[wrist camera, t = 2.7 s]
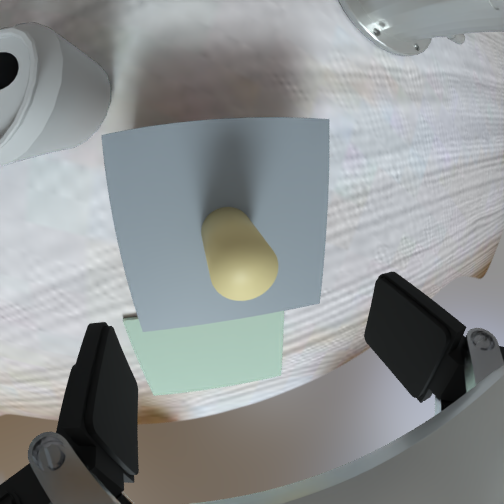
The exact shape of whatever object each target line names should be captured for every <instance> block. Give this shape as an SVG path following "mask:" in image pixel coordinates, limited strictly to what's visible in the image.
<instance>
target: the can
mask: <svg viewBox="0 0 504 504" xmlns="http://www.w3.org/2000/svg"><path fill="white" fill-rule="evenodd" d="M110 102H111V86H110V82H109V79H108V76H107V74H106V72H105V71H104V70H103V69H102V68H101V66H100V65H99V64H98V63H96V62H95V61H94V60H92V59H91V58H90V57H88V56H87V55H86V54H84V53H83V52H82V51H80V50H79V49H78V48H76V47H75V46H74V45H72V44H71V43H70V42H68V41H67V40H66V39H64V38H63V37H61V36H60V35H59V34H57V33H56V32H54V31H53V30H52V29H50V28H49V27H46V26H43V25H41V24H38V23H35V22H33V23H24V24H18V25H16V26H14V27H7V28H1V29H0V167H1V166H5V165H8V164H11V163H14V162H18V161H21V160H25V159H28V158H32V157H36V156H40V155H44V154H48V153H52V152H56V151H61V150H65V149H70V148H75V147H77V146H78V145H80V144H82V143H84V142H85V141H87V140H88V139H89V138H90V137H91V136H92V135H93V134H94V133H95V132H96V131H97V130H98V129H99V127H100V126H101V124H102V122H103V120H104V119H105V117H106V115H107V112H108V108H109V105H110Z"/></svg>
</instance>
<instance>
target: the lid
mask: <svg viewBox="0 0 504 504" xmlns="http://www.w3.org/2000/svg"><path fill="white" fill-rule="evenodd" d="M102 146H103V155H104V164H105V172H106V179H107V186H108V192H109V199H110V204H111V210H112V216H113V221H114V226H115V231H116V236H117V240H118V245H119V249H120V254H121V258H122V262H123V266H124V270H125V274H126V278H127V281H128V285H129V289H130V292H131V296H132V299H133V303H134V306H135V309H136V312H137V316H138V319H139V322H140V325H141V328H142V331H143V332H148V331H157V330H165V329H173V328H181V327H189V326H196V325H203V324H210V323H216V322H223V321H229V320H235V319H241V318H247V317H253V316H258V315H264V314H269V313H275V312H280V311H285V310H290V309H295V308H300V307H305V306H310V305H314V304H319V303H320V296H321V286H322V276H323V266H324V254H325V241H326V226H327V208H328V185H329V119H316V118H289V117H255V118H228V119H212V120H199V121H189V122H179V123H171V124H163V125H156V126H149V127H143V128H137V129H131V130H125V131H120V132H115V133H110V134H105V135H102Z"/></svg>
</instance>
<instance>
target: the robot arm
mask: <svg viewBox="0 0 504 504" xmlns="http://www.w3.org/2000/svg"><path fill="white" fill-rule="evenodd" d="M339 1H340V3H341V5H342V8H343V9H344V11H345V12H346V14H347V16H348V17H349V19H350V20H351V21H352V22H353V24H354V25H355V26H356V27H357V28H358V29H359V30H360V31H361V32H362V33H363V34H364V35H365V36H366V37H367V38H368V39H369V40H371V41H372V42H373V43H374V44H376V45H377V46H379V47H381V48H382V49H384V50H386V51H388V52H390V53H393V54H396V55H400V56H412V55H418V54H420V53H422V52H424V51H425V50H426V49H427V48H428V46H429V44H430V42H431V39H432V38H434V37H440V36H441V37H447V38H448V39H450V40H452V41H453V42H455V43H457V44H462V43H464V41H465V36H464V34H465V33H477V32H504V0H339ZM465 329H466V326H464V325H463V324H462V323H461V322H459V321H458V320H457V319H456V318H455V317H453V316H452V315H451V314H450V313H448V312H447V311H446V310H445V309H443V308H442V307H440V306H439V305H438V304H437V303H436V302H434V301H433V300H432V299H430V298H429V297H428V296H427V295H425V294H424V293H423V292H421V291H420V290H419V289H417V288H416V287H415V286H413V285H412V284H411V283H409V282H408V281H407V280H405V279H404V278H402V277H401V276H400V275H398V274H397V273H395V272H389V273H385V274H381V275H380V276H379V277H378V279H377V281H376V283H375V288H374V293H373V298H372V303H371V308H370V312H369V317H368V321H367V325H366V329H365V334H364V337H365V341H366V342H367V344H368V345H369V346H370V347H371V348H372V349H373V351H375V353H376V354H377V355H378V356H379V358H380V359H381V360H382V361H383V362H384V363H385V365H386V366H387V367H388V368H389V369H390V370H391V371H392V373H393V374H394V375H395V376H396V378H397V379H398V380H399V381H400V382H401V383H402V385H403V386H404V387H405V388H406V389H407V390H408V392H409V393H410V394H411V395H412V396H413V397H414V398H417V399H418V400H419V402H420V403H422V402H423V401H425V400H426V399H428V398H430V396H431V395H432V393H433V394H434V395H435V416H434V417H433V418H431V419H429V420H428V421H426V422H425V423H423V424H422V425H420V426H418V427H417V428H415V429H414V430H412V431H410V432H408V433H407V434H405V435H403V436H402V437H400V438H398V439H396V440H394V441H393V442H391V443H389V444H387V445H385V446H383V447H381V448H379V449H377V450H375V451H374V452H371V453H369V454H367V455H365V456H363V457H361V458H359V459H356V460H354V461H352V462H350V463H348V464H345V465H342V466H340V467H338V468H335V469H333V470H330V471H328V472H325V473H322V474H319V475H317V476H314V477H311V478H308V479H305V480H302V481H299V482H296V483H292V484H289V485H286V486H282V487H278V488H275V489H271V490H267V491H263V492H259V493H254V494H250V495H245V496H240V497H234V498H229V499H223V500H216V501H209V502H201V503H193V504H504V347H501V346H499V345H498V342H497V340H496V338H495V337H494V336H493V334H491V333H490V332H489V331H486V330H484V329H480V328H474V329H471V330H469V331H468V333H467V335H466V337H464V336H463V334H464V331H465ZM137 413H138V386H137V382H136V380H135V378H134V376H133V373H132V371H131V369H130V367H129V365H128V362H127V360H126V358H125V355H124V353H123V351H122V348H121V346H120V343H119V341H118V338H117V336H116V333H115V331H114V328H113V327H112V326H108V325H107V323H105V322H101V323H91V324H89V325H88V327H87V330H86V333H85V336H84V339H83V342H82V345H81V348H80V352H79V355H78V358H77V362H76V364H75V365H74V366H73V367H72V369H71V372H70V376H69V379H68V383H67V387H66V391H65V395H64V399H63V403H62V407H61V412H60V416H59V421H58V426H57V431H56V433H54V432H45V433H42V434H40V435H38V436H37V437H36V438H34V439H33V441H32V442H31V444H30V446H29V450H28V459H29V462H30V463H29V464H28V465H27V466H25V467H24V468H23V469H21V470H20V471H19V472H17V473H16V474H15V475H13V476H12V477H10V478H9V479H8V480H7V481H5V482H4V483H2V484H1V485H0V504H134V503H133V502H132V501H131V500H130V499H129V498H128V497H127V496H126V494H125V493H123V490H124V482H128V483H129V482H130V483H134V475H137V474H138V470H139V469H138V441H137Z"/></svg>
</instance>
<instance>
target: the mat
mask: <svg viewBox="0 0 504 504" xmlns="http://www.w3.org/2000/svg"><path fill="white" fill-rule="evenodd" d="M123 322H124V325H125V328H126V331H127V333H128V336H129V339H130V341H131V344H132V346H133V349H134V351H135V354H136V356H137V359H138V361H139V364H140V366H141V368H142V371H143V373H144V375H145V377H146V380H147V382H148V384H149V386H150V388H151V391H152V393H153V395H166V394H175V393H184V392H192V391H200V390H207V389H214V388H220V387H226V386H232V385H237V384H243V383H248V382H253V381H258V380H263V379H267V378H272V377H276V376H280V375H281V367H282V347H283V324H284V311H280V312H275V313H269V314H264V315H258V316H253V317H247V318H241V319H235V320H229V321H223V322H216V323H210V324H203V325H196V326H189V327H181V328H173V329H165V330H157V331H148V332H143V331H142V328H141V325H140V322H139V319H138V317H131V318H123Z"/></svg>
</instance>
